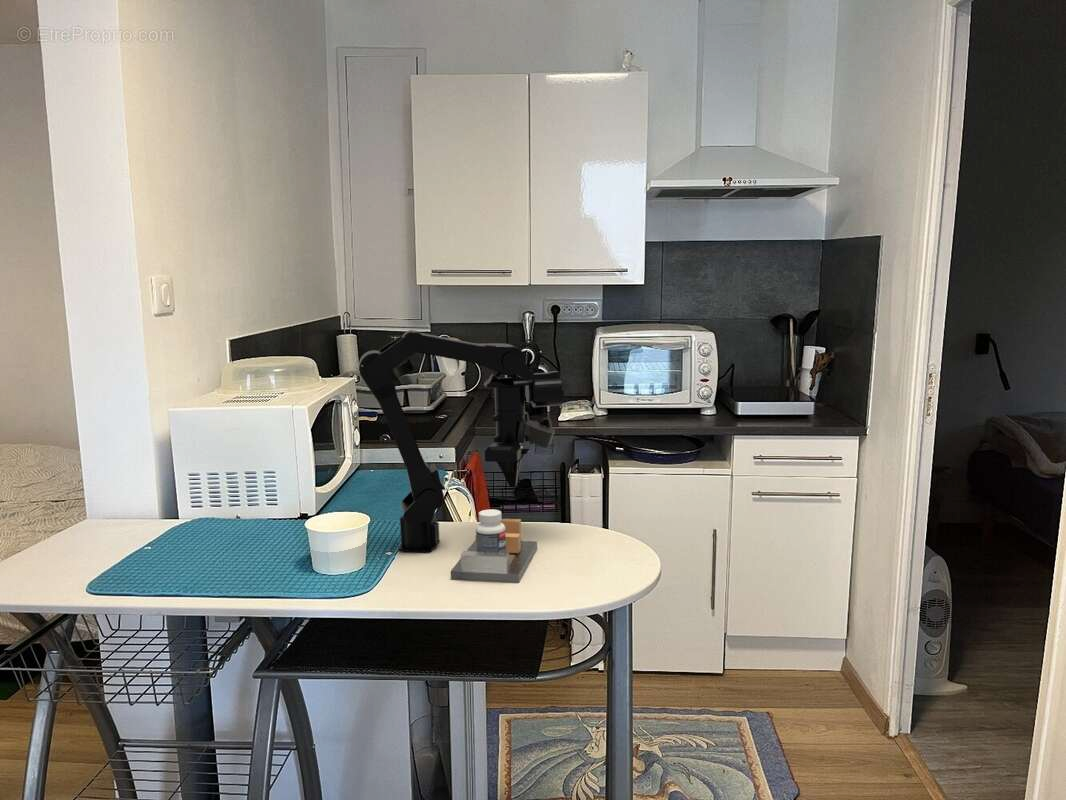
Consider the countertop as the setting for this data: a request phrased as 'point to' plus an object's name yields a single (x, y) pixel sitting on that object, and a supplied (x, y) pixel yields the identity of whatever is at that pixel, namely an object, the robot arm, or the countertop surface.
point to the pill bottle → (490, 532)
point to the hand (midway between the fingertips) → (513, 486)
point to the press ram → (511, 535)
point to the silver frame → (494, 564)
